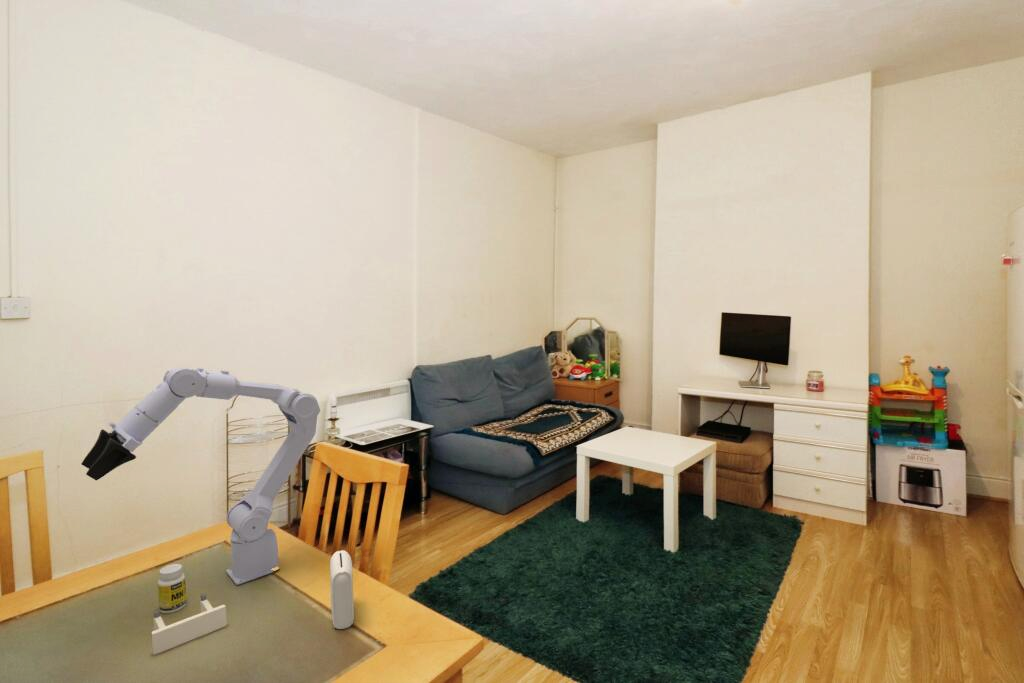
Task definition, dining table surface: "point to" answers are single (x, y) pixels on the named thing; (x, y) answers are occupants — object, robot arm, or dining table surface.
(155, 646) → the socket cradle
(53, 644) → the dining table surface
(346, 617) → the photo printer
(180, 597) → the supplement bottle
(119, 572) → the dining table surface
